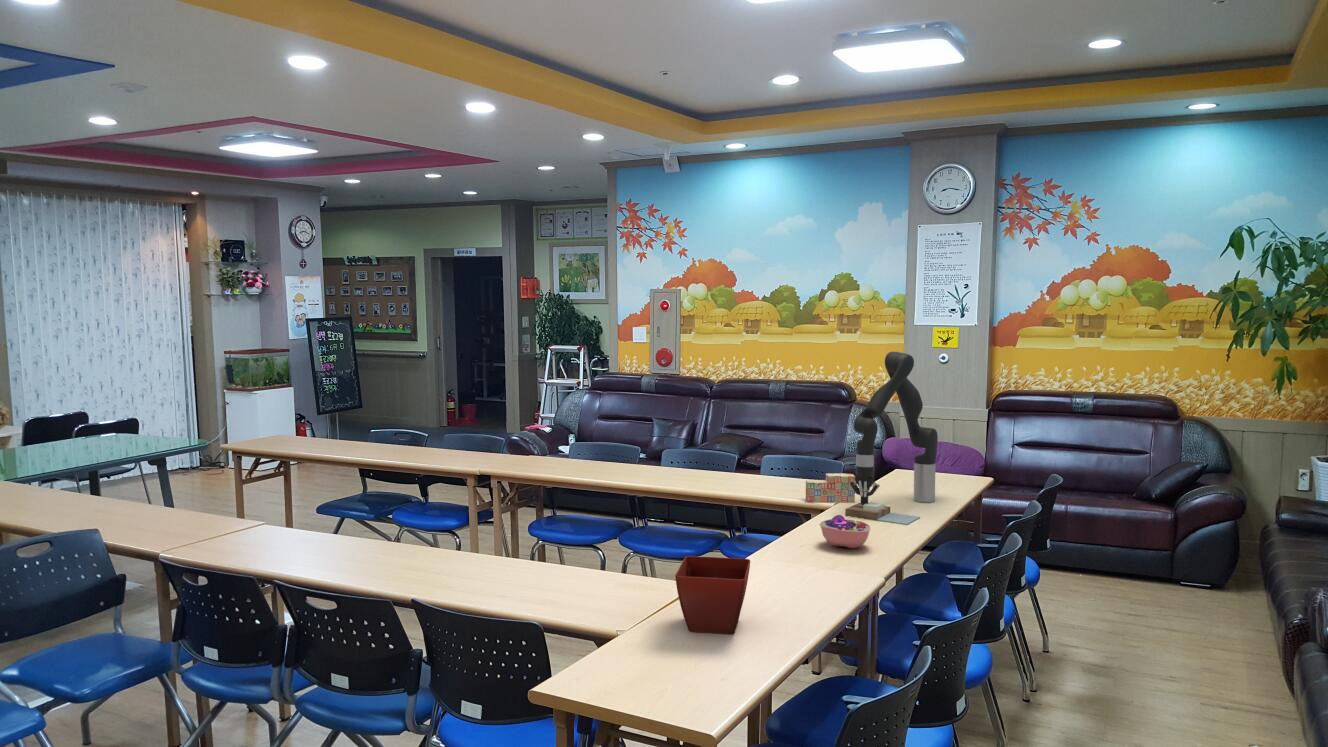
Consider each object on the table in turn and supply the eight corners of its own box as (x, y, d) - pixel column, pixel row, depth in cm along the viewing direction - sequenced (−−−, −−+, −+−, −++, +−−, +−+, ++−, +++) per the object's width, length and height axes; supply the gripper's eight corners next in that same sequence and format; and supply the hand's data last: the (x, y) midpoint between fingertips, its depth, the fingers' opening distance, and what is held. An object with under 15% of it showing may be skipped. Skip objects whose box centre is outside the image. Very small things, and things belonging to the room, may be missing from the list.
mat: (890, 513, 379) (890, 512, 379) (920, 517, 371) (920, 516, 371) (876, 520, 367) (876, 519, 367) (907, 525, 360) (907, 523, 359)
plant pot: (745, 640, 239) (745, 579, 238) (674, 636, 242) (674, 575, 241) (750, 615, 258) (750, 558, 256) (685, 612, 261) (685, 555, 260)
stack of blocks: (807, 502, 401) (807, 475, 400) (805, 499, 407) (805, 473, 406) (855, 503, 400) (855, 475, 399) (852, 499, 406) (852, 473, 405)
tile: (871, 506, 380) (871, 501, 380) (884, 507, 377) (884, 503, 376) (863, 509, 374) (863, 504, 374) (876, 511, 370) (876, 506, 370)
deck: (859, 509, 387) (859, 502, 387) (890, 513, 379) (890, 506, 378) (845, 516, 375) (845, 509, 375) (876, 520, 367) (876, 513, 367)
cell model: (848, 557, 316) (848, 525, 315) (809, 544, 333) (809, 514, 332) (881, 549, 325) (882, 518, 324) (842, 537, 342) (842, 508, 341)
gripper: (883, 465, 375) (882, 505, 377) (854, 461, 383) (853, 501, 385) (876, 467, 369) (875, 508, 371) (846, 464, 377) (846, 504, 379)
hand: (864, 505), depth 378 cm, fingers closed
